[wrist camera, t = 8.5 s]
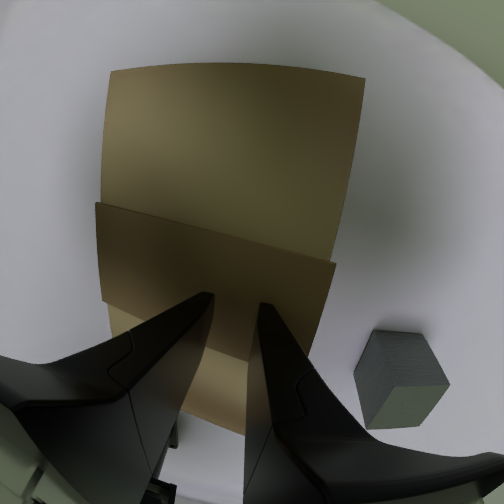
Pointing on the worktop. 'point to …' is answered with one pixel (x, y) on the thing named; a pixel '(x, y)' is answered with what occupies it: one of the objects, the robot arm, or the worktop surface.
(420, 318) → the worktop surface
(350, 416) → the robot arm
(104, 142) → the lid
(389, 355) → the block
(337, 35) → the worktop surface
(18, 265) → the worktop surface
